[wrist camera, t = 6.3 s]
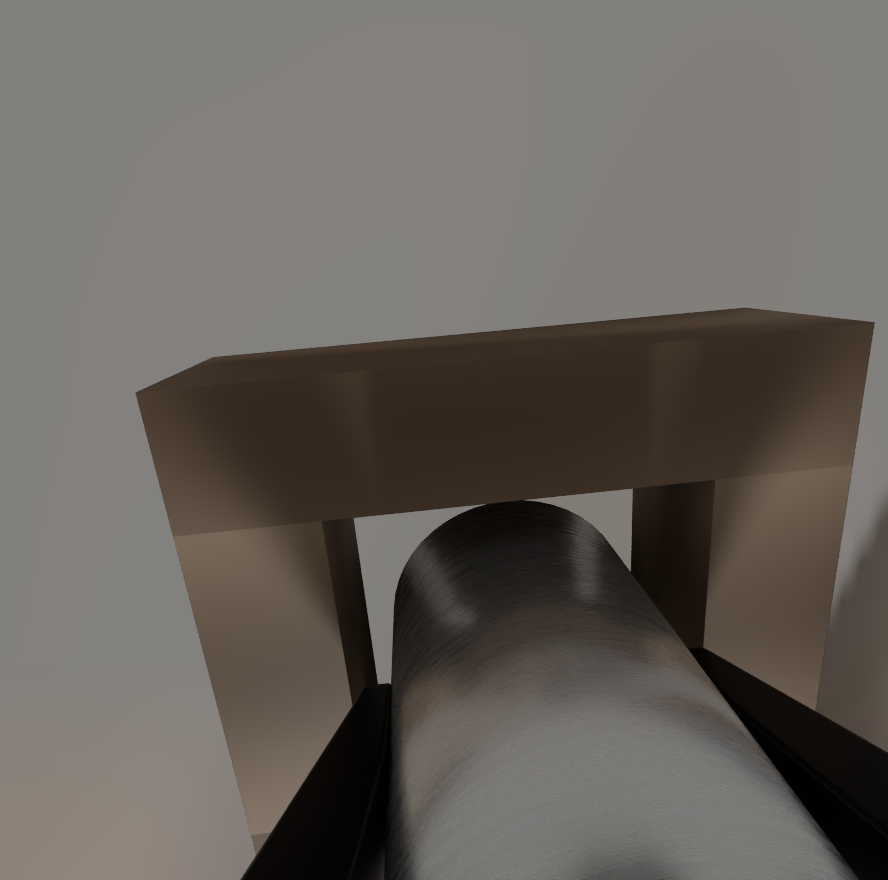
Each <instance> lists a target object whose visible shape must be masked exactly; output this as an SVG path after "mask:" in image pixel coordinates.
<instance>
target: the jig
mask: <svg viewBox="0 0 888 880" xmlns="http://www.w3.org/2000/svg"><path fill="white" fill-rule="evenodd" d="M873 329H874V322H866V321H858V320H849V319H840V318H831V317H822V316H813V315H804V314H796V313H787V312H778V311H769V310H760V309H752V308H738V309H727V310H716V311H706V312H695V313H684V314H674V315H662V316H652V317H641V318H630V319H620V320H609V321H598V322H587V323H576V324H566V325H555V326H544V327H533V328H523V329H512V330H502V331H491V332H480V333H470V334H459V335H448V336H437V337H426V338H415V339H404V340H394V341H383V342H372V343H361V344H351V345H340V346H329V347H318V348H308V349H297V350H286V351H276V352H266V353H254V354H243V355H232V356H222V357H213V358H210V359H208V360H206V361H204V362H201V363H199V364H197V365H195V366H193V367H191V368H188V369H186V370H184V371H182V372H180V373H178V374H175V375H173V376H171V377H169V378H166V379H164V380H162V381H160V382H158V383H156V384H153V385H151V386H149V387H147V388H145V389H143V390H140V391H138V392H136V396H137V400H138V404H139V408H140V412H141V415H142V419H143V423H144V427H145V431H146V435H147V438H148V442H149V446H150V450H151V454H152V458H153V461H154V465H155V469H156V473H157V477H158V480H159V484H160V488H161V492H162V496H163V500H164V504H165V507H166V511H167V515H168V519H169V523H170V527H171V530H172V534H173V538H174V542H175V546H176V550H177V553H178V557H179V561H180V565H181V569H182V573H183V576H184V580H185V584H186V588H187V592H188V596H189V599H190V603H191V607H192V611H193V614H194V619H195V622H196V626H197V630H198V634H199V638H200V642H201V645H202V649H203V653H204V657H205V661H206V664H207V668H208V672H209V676H210V680H211V684H212V688H213V691H214V695H215V699H216V703H217V707H218V711H219V714H220V718H221V722H222V726H223V730H224V733H225V737H226V741H227V745H228V749H229V753H230V757H231V760H232V764H233V768H234V772H235V775H236V779H237V783H238V787H239V791H240V795H241V799H242V803H243V806H244V810H245V814H246V818H247V822H248V826H249V829H250V833H251V837H252V841H253V845H254V849H255V852H256V855H257V853H258V852H259V850H260V849H261V847H262V846H263V844H264V842H265V841H266V839H267V838H268V836H269V835H270V833H271V832H272V830H273V828H274V827H275V825H276V824H277V822H278V821H279V819H280V818H281V816H282V814H283V813H284V811H285V810H286V808H287V807H288V805H289V804H290V802H291V800H292V799H293V797H294V796H295V794H296V793H297V791H298V790H299V788H300V786H301V785H302V783H303V782H304V780H305V779H306V777H307V776H308V774H309V773H310V771H311V769H312V768H313V766H314V765H315V763H316V762H317V760H318V759H319V757H320V755H321V754H322V752H323V751H324V749H325V748H326V746H327V745H328V743H329V741H330V740H331V738H332V737H333V735H334V734H335V732H336V731H337V729H338V727H339V726H340V724H341V723H342V721H343V720H344V718H345V717H346V715H347V713H348V712H349V710H350V709H351V707H352V706H353V704H354V703H355V701H356V699H357V698H358V696H359V695H360V693H361V692H362V690H363V689H364V688H365V687H366V686H369V685H377V684H378V682H377V675H376V669H375V661H374V654H373V648H372V641H371V634H370V628H369V621H368V614H367V608H366V600H365V593H364V586H363V580H362V574H361V566H360V559H359V553H358V546H357V539H356V533H355V526H354V519H353V518H356V517H365V516H376V515H384V514H395V513H404V512H414V511H423V510H433V509H442V508H451V507H461V506H471V505H480V504H490V503H499V502H509V501H518V500H527V499H537V498H547V497H556V496H566V495H575V494H584V493H594V492H604V491H613V490H623V489H632V488H633V507H632V508H633V509H632V510H633V511H632V551H631V573H632V575H633V576H634V577H635V579H636V580H637V581H638V583H639V584H640V585H641V587H642V588H643V590H644V591H645V592H646V594H647V595H648V596H649V598H650V599H651V600H652V602H653V603H654V604H655V606H656V607H657V608H658V610H659V611H660V612H661V614H662V615H663V616H664V618H665V619H666V620H667V622H668V623H669V624H670V626H671V627H672V629H673V630H674V631H675V633H676V634H677V635H678V637H679V638H680V639H681V641H682V642H683V643H684V645H685V646H686V647H687V649H688V648H696V647H702V648H705V649H708V650H709V651H711V652H713V653H715V654H716V655H718V656H720V657H722V658H723V659H725V660H727V661H729V662H730V663H732V664H734V665H736V666H737V667H739V668H741V669H743V670H744V671H746V672H748V673H750V674H751V675H753V676H755V677H757V678H758V679H760V680H762V681H764V682H765V683H767V684H769V685H771V686H772V687H774V688H776V689H778V690H779V691H781V692H783V693H785V694H786V695H788V696H790V697H792V698H793V699H795V700H797V701H799V702H800V703H802V704H804V705H806V706H807V707H809V708H811V709H813V710H814V711H815V709H816V702H817V696H818V689H819V683H820V676H821V670H822V663H823V657H824V650H825V643H826V637H827V630H828V624H829V617H830V611H831V604H832V598H833V591H834V585H835V578H836V572H837V565H838V558H839V552H840V545H841V538H842V532H843V526H844V519H845V513H846V505H847V499H848V493H849V486H850V480H851V473H852V466H853V460H854V453H855V447H856V441H857V434H858V428H859V421H860V414H861V408H862V401H863V395H864V388H865V381H866V375H867V369H868V362H869V356H870V348H871V342H872V335H873Z"/></svg>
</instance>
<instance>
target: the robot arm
mask: <svg viewBox="0 0 888 880" xmlns="http://www.w3.org/2000/svg"><path fill="white" fill-rule="evenodd" d="M688 650H689V651H690V653H691V654H692V655H693V657H694V658H695V659H696V661H697V662H698V663H699V665H700V666H701V668H702V669H703V670H704V672H705V673H706V674H707V676H708V677H709V678H710V680H711V681H712V682H713V684H714V685H715V686H716V688H717V689H718V690H719V692H720V693H721V694H722V696H723V697H724V698H725V700H726V701H727V702H728V704H729V705H730V707H731V708H732V709H733V711H734V712H735V713H736V715H737V716H738V717H739V719H740V720H741V721H742V723H743V724H744V725H745V727H746V728H747V729H748V731H749V732H750V733H751V735H752V736H753V737H754V739H755V740H756V741H757V743H758V744H759V746H760V747H761V748H762V750H763V751H764V752H765V754H766V755H767V756H768V758H769V759H770V760H771V762H772V763H773V764H774V766H775V767H776V768H777V770H778V771H779V772H780V774H781V775H782V776H783V778H784V779H785V780H786V782H787V783H788V785H789V786H790V787H791V789H792V790H793V791H794V793H795V794H796V795H797V797H798V798H799V799H800V801H801V802H802V803H803V805H804V806H805V807H806V809H807V810H808V811H809V813H810V814H811V815H812V817H813V818H814V819H815V821H816V822H817V823H818V825H819V826H820V828H821V829H822V830H823V832H824V833H825V834H826V836H827V837H828V838H829V840H830V841H831V842H832V844H833V845H834V846H835V848H836V849H837V850H838V852H839V853H840V854H841V856H842V857H843V858H844V860H845V861H846V862H847V864H848V865H849V867H850V868H851V869H852V871H853V872H854V873H855V875H856V876H857V877H858V879H859V880H888V752H886V751H884V750H882V749H881V748H879V747H877V746H875V745H874V744H872V743H870V742H868V741H867V740H865V739H863V738H861V737H860V736H858V735H856V734H854V733H853V732H851V731H849V730H847V729H846V728H844V727H842V726H840V725H839V724H837V723H835V722H834V721H832V720H830V719H828V718H827V717H825V716H823V715H821V714H820V713H818V712H816V711H814V710H813V709H811V708H809V707H807V706H806V705H804V704H802V703H800V702H799V701H797V700H795V699H793V698H792V697H790V696H788V695H786V694H785V693H783V692H781V691H779V690H778V689H776V688H774V687H772V686H771V685H769V684H767V683H765V682H764V681H762V680H760V679H758V678H757V677H755V676H753V675H751V674H750V673H748V672H746V671H744V670H743V669H741V668H739V667H737V666H736V665H734V664H732V663H730V662H729V661H727V660H725V659H723V658H722V657H720V656H718V655H716V654H715V653H713V652H711V651H709V650H708V649H705V648H702V647H696V648H688ZM391 697H392V685H391V684H389V683H386V684H377V685H369V686H366V687H365V688H364V689H363V690H362V692H361V693H360V695H359V696H358V698H357V699H356V701H355V703H354V704H353V706H352V707H351V709H350V710H349V712H348V713H347V715H346V717H345V718H344V720H343V721H342V723H341V724H340V726H339V727H338V729H337V731H336V732H335V734H334V735H333V737H332V738H331V740H330V741H329V743H328V745H327V746H326V748H325V749H324V751H323V752H322V754H321V755H320V757H319V759H318V760H317V762H316V763H315V765H314V766H313V768H312V769H311V771H310V773H309V774H308V776H307V777H306V779H305V780H304V782H303V783H302V785H301V786H300V788H299V790H298V791H297V793H296V794H295V796H294V797H293V799H292V800H291V802H290V804H289V805H288V807H287V808H286V810H285V811H284V813H283V814H282V816H281V818H280V819H279V821H278V822H277V824H276V825H275V827H274V828H273V830H272V832H271V833H270V835H269V836H268V838H267V839H266V841H265V842H264V844H263V846H262V847H261V849H260V850H259V852H258V853H257V855H256V856H255V858H254V860H253V861H252V863H251V864H250V866H249V867H248V869H247V870H246V872H245V874H244V875H243V877H242V878H241V880H384V867H385V840H386V813H387V790H388V773H389V753H390V726H391Z"/></svg>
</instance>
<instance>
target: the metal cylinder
mask: <svg viewBox="0 0 888 880" xmlns="http://www.w3.org/2000/svg"><path fill="white" fill-rule="evenodd" d="M392 650H393V651H392V677H391V685H392V697H391V726H390V753H389V773H388V790H387V813H386V840H385V867H384V880H859V879H858V877H857V876H856V875H855V873H854V872H853V871H852V869H851V868H850V867H849V865H848V864H847V862H846V861H845V860H844V858H843V857H842V856H841V854H840V853H839V852H838V850H837V849H836V848H835V846H834V845H833V844H832V842H831V841H830V840H829V838H828V837H827V836H826V834H825V833H824V832H823V830H822V829H821V828H820V826H819V825H818V823H817V822H816V821H815V819H814V818H813V817H812V815H811V814H810V813H809V811H808V810H807V809H806V807H805V806H804V805H803V803H802V802H801V801H800V799H799V798H798V797H797V795H796V794H795V793H794V791H793V790H792V789H791V787H790V786H789V785H788V783H787V782H786V780H785V779H784V778H783V776H782V775H781V774H780V772H779V771H778V770H777V768H776V767H775V766H774V764H773V763H772V762H771V760H770V759H769V758H768V756H767V755H766V754H765V752H764V751H763V750H762V748H761V747H760V746H759V744H758V743H757V741H756V740H755V739H754V737H753V736H752V735H751V733H750V732H749V731H748V729H747V728H746V727H745V725H744V724H743V723H742V721H741V720H740V719H739V717H738V716H737V715H736V713H735V712H734V711H733V709H732V708H731V707H730V705H729V704H728V702H727V701H726V700H725V698H724V697H723V696H722V694H721V693H720V692H719V690H718V689H717V688H716V686H715V685H714V684H713V682H712V681H711V680H710V678H709V677H708V676H707V674H706V673H705V672H704V670H703V669H702V668H701V666H700V665H699V663H698V662H697V661H696V659H695V658H694V657H693V655H692V654H691V653H690V651H689V650H688V649H687V647H686V646H685V645H684V643H683V642H682V641H681V639H680V638H679V637H678V635H677V634H676V633H675V631H674V630H673V629H672V627H671V626H670V624H669V623H668V622H667V620H666V619H665V618H664V616H663V615H662V614H661V612H660V611H659V610H658V608H657V607H656V606H655V604H654V603H653V602H652V600H651V599H650V598H649V596H648V595H647V594H646V592H645V591H644V590H643V588H642V587H641V585H640V584H639V583H638V581H637V580H636V579H635V577H634V576H633V575H632V573H631V572H630V571H629V569H628V568H627V567H626V565H625V564H624V563H623V561H622V560H621V559H620V557H619V556H618V555H617V553H616V552H615V551H614V549H613V548H612V547H611V545H610V544H609V543H608V541H607V540H606V539H605V538H604V536H603V535H602V534H601V533H600V532H599V531H598V530H597V529H596V528H595V527H594V526H593V525H591V524H590V523H588V522H587V521H585V520H584V519H583V518H581V517H580V516H578V515H576V514H574V513H572V512H570V511H568V510H566V509H563V508H560V507H557V506H555V505H551V504H546V503H542V502H536V501H524V500H518V501H509V502H499V503H490V504H486V505H483V506H479V507H476V508H473V509H471V510H468V511H466V512H463V513H461V514H459V515H457V516H455V517H453V518H452V519H450V520H448V521H447V522H445V523H443V524H442V525H441V526H439V527H438V528H437V529H435V530H434V531H433V532H432V533H431V534H430V535H429V536H428V537H427V538H425V539H424V540H423V541H422V542H421V544H420V545H419V546H418V547H417V549H416V550H415V551H414V552H413V554H412V555H411V557H410V558H409V560H408V562H407V563H406V565H405V567H404V569H403V572H402V574H401V577H400V579H399V582H398V586H397V590H396V593H395V603H394V622H393V649H392Z"/></svg>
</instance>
